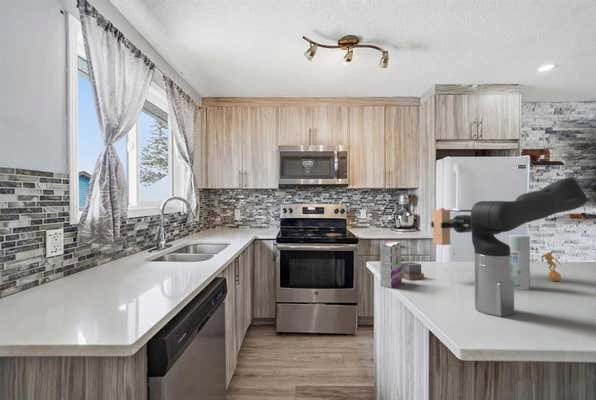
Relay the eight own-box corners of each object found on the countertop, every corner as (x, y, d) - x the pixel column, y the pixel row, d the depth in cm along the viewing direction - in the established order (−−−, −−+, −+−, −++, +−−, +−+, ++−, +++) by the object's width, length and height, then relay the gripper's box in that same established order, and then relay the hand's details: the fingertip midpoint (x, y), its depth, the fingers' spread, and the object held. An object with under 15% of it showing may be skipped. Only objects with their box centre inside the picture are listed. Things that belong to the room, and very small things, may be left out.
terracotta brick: (450, 244, 126) (450, 208, 126) (442, 245, 124) (441, 208, 124) (441, 243, 130) (441, 208, 130) (433, 243, 128) (433, 208, 128)
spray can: (534, 289, 114) (534, 236, 114) (517, 290, 114) (516, 236, 114) (521, 285, 121) (521, 234, 121) (505, 285, 121) (504, 234, 121)
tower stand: (424, 278, 132) (423, 264, 132) (409, 280, 129) (409, 266, 129) (410, 274, 140) (410, 261, 140) (396, 276, 137) (396, 262, 137)
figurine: (568, 283, 123) (568, 253, 123) (555, 284, 122) (554, 253, 122) (549, 278, 131) (549, 250, 131) (536, 278, 130) (536, 250, 130)
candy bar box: (390, 280, 129) (389, 241, 129) (401, 282, 126) (401, 242, 126) (379, 286, 120) (379, 244, 120) (392, 288, 117) (391, 245, 117)
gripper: (452, 214, 139) (423, 215, 132) (482, 215, 126) (451, 216, 119) (452, 230, 139) (423, 232, 132) (482, 233, 125) (451, 235, 119)
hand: (436, 224), depth 126 cm, fingers closed on terracotta brick, 4 cm apart
